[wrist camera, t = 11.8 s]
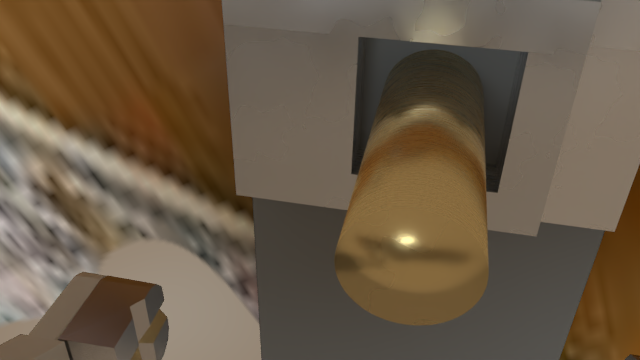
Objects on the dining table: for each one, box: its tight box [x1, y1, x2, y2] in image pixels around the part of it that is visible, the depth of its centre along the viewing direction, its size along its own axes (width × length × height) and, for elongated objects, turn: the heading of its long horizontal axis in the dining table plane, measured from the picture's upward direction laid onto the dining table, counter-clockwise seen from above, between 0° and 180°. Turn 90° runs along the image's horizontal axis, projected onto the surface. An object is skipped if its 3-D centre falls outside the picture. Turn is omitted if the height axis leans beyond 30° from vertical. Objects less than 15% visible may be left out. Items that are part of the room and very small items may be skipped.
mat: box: [252, 37, 605, 360], centre depth 21 cm, size 20×12×2 cm, turn 179°
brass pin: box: [334, 49, 489, 325], centre depth 15 cm, size 3×3×8 cm
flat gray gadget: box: [222, 0, 640, 236], centre depth 18 cm, size 7×12×2 cm, turn 89°
